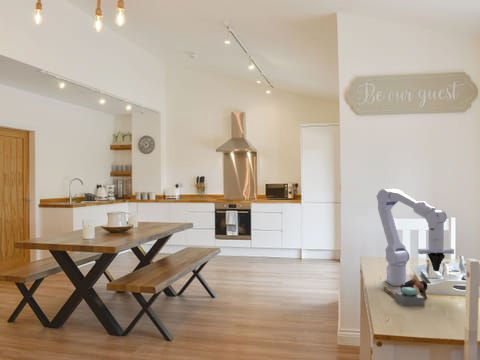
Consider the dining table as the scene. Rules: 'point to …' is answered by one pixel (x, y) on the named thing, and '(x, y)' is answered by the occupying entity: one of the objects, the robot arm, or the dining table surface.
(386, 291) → the rail
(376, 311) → the dining table surface
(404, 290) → the dome button
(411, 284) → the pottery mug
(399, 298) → the dome box
